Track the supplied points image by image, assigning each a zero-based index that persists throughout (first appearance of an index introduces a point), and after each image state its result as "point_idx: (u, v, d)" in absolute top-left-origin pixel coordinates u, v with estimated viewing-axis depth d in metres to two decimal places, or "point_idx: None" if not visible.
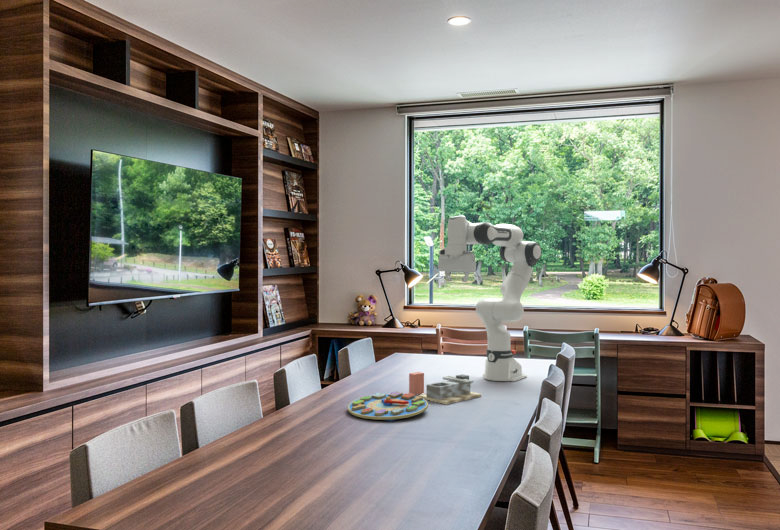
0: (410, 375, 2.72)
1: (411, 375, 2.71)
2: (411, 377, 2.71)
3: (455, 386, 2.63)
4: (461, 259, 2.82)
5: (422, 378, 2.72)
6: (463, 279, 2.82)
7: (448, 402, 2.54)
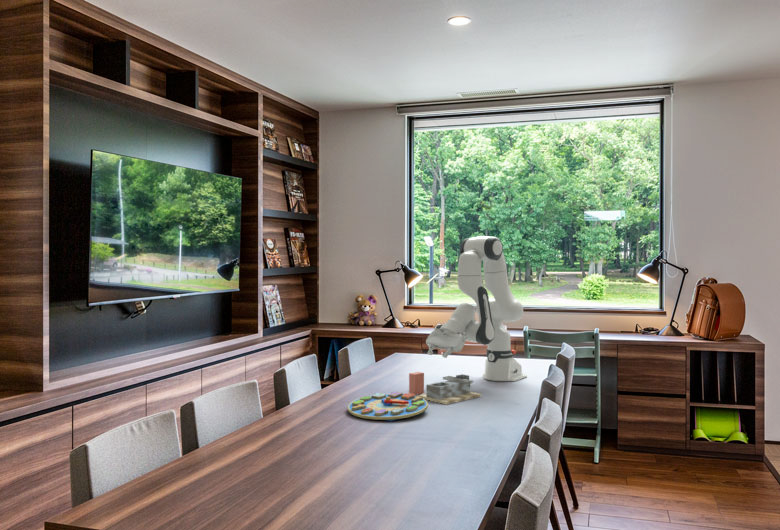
0: (410, 375, 2.72)
1: (411, 375, 2.71)
2: (411, 377, 2.71)
3: (455, 386, 2.63)
4: (452, 336, 2.81)
5: (422, 378, 2.72)
6: (444, 353, 2.77)
7: (448, 402, 2.54)
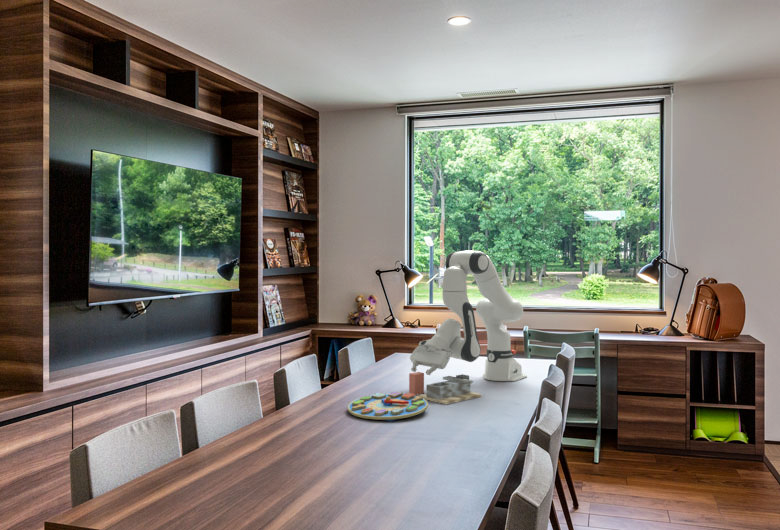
0: (410, 375, 2.72)
1: (411, 375, 2.71)
2: (411, 377, 2.71)
3: (455, 386, 2.63)
4: (437, 353, 2.75)
5: (422, 378, 2.72)
6: (428, 370, 2.70)
7: (448, 402, 2.54)
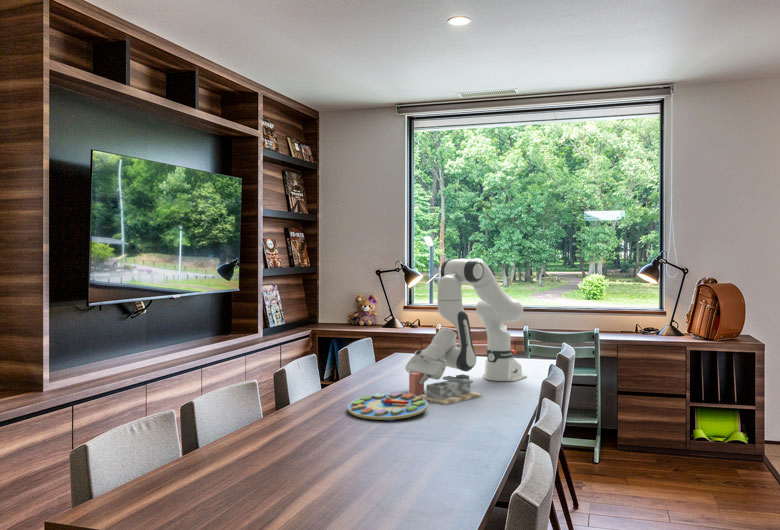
0: (410, 375, 2.72)
1: (411, 375, 2.71)
2: (411, 377, 2.71)
3: (455, 386, 2.63)
4: (432, 363, 2.73)
5: None
6: (419, 380, 2.70)
7: (448, 402, 2.54)
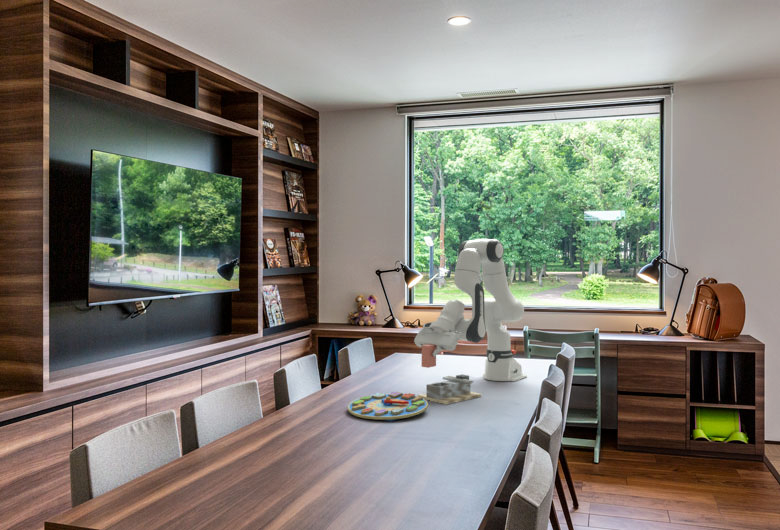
0: (423, 347, 2.65)
1: (424, 347, 2.64)
2: (424, 349, 2.64)
3: (455, 386, 2.63)
4: (444, 335, 2.67)
5: (434, 350, 2.66)
6: (433, 352, 2.64)
7: (448, 402, 2.54)
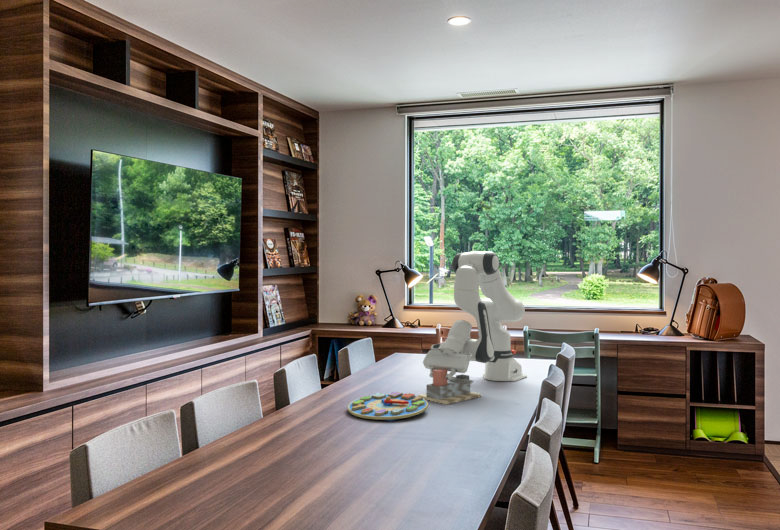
0: (434, 372, 2.61)
1: (435, 372, 2.60)
2: (435, 374, 2.60)
3: (455, 386, 2.63)
4: (455, 356, 2.64)
5: (445, 375, 2.62)
6: (447, 375, 2.60)
7: (448, 402, 2.54)
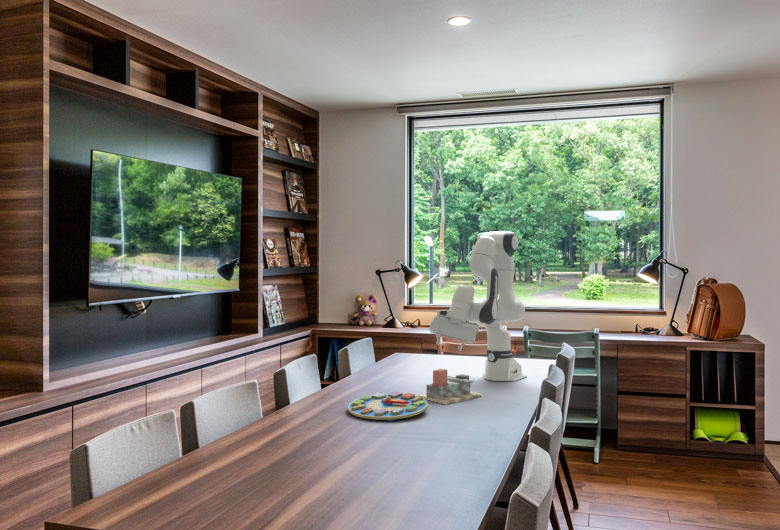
0: (434, 372, 2.61)
1: (435, 372, 2.60)
2: (435, 374, 2.60)
3: (455, 386, 2.63)
4: (464, 326, 2.72)
5: (445, 375, 2.62)
6: (459, 346, 2.69)
7: (448, 402, 2.54)
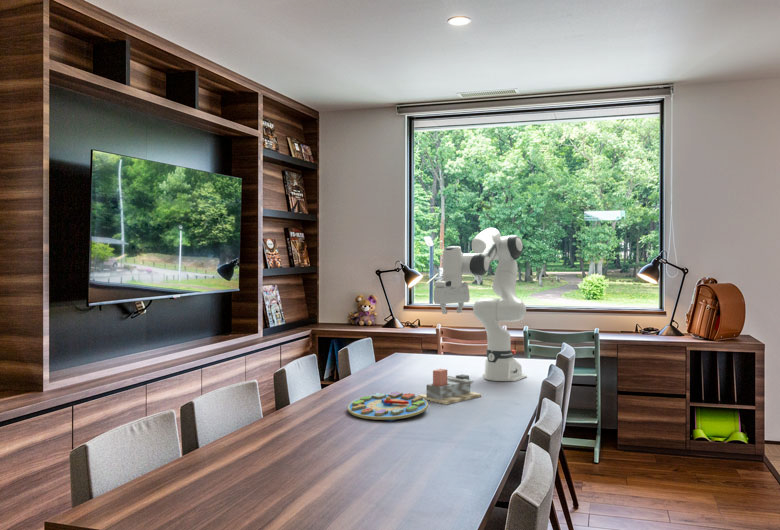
0: (434, 372, 2.61)
1: (435, 372, 2.60)
2: (435, 374, 2.60)
3: (455, 386, 2.63)
4: (461, 290, 2.83)
5: (445, 375, 2.62)
6: (460, 310, 2.84)
7: (448, 402, 2.54)
